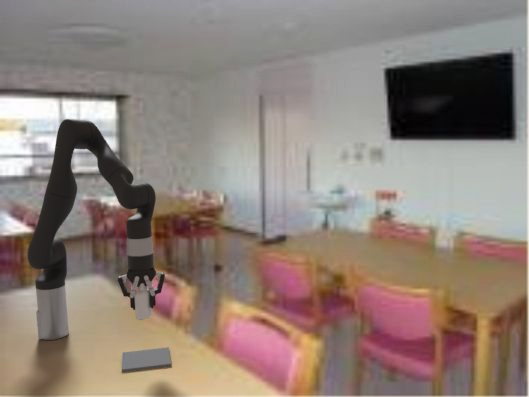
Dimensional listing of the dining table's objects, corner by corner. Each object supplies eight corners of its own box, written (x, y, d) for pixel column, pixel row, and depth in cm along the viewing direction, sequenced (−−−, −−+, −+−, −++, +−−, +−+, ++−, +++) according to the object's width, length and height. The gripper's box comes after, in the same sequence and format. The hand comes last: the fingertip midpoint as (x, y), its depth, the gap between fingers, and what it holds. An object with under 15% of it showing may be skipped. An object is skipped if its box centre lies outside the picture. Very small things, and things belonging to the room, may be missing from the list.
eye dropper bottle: (132, 317, 159) (129, 278, 157) (149, 313, 162) (147, 274, 160) (138, 321, 155) (135, 281, 153) (156, 316, 158) (153, 277, 157)
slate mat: (121, 372, 153) (121, 369, 153) (122, 354, 165) (122, 352, 164) (171, 366, 156) (171, 363, 156) (168, 349, 168) (168, 347, 168)
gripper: (164, 247, 161) (167, 301, 163) (115, 250, 158) (118, 306, 160) (165, 253, 154) (168, 310, 156) (114, 256, 150) (117, 315, 153)
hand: (143, 307), depth 158 cm, fingers closed on eye dropper bottle, 4 cm apart
